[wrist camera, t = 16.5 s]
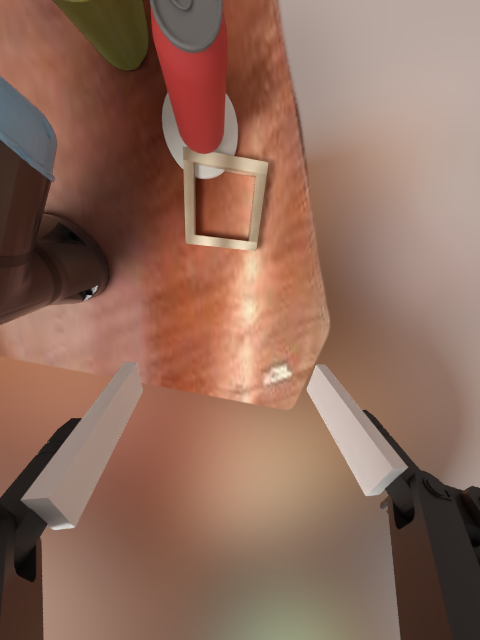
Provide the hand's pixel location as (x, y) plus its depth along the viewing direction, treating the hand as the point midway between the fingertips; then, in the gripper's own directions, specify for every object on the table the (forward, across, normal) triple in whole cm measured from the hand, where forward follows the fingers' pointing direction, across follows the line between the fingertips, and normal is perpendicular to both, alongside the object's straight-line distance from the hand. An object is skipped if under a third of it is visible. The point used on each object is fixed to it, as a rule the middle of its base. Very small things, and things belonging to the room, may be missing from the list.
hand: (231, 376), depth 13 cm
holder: (+27, -1, +14) cm, 30 cm away
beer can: (+25, -5, +23) cm, 35 cm away
